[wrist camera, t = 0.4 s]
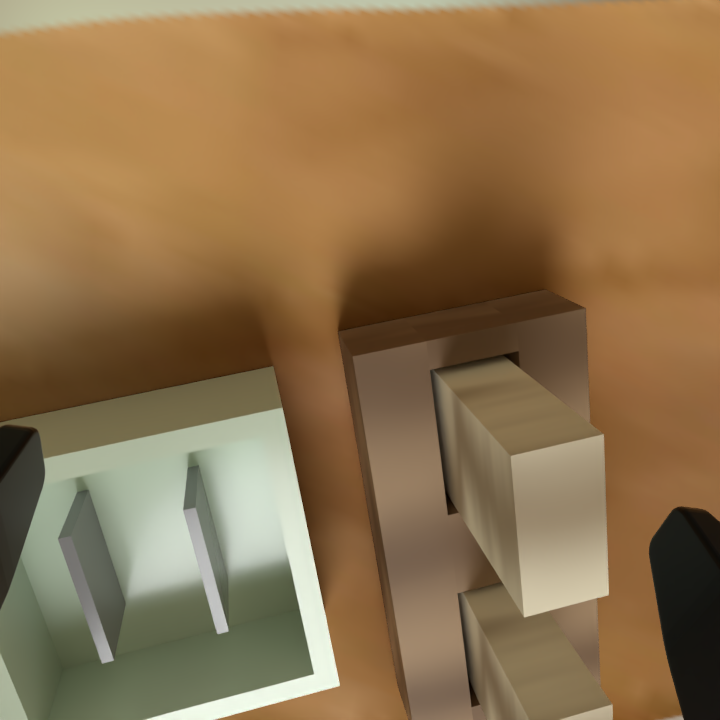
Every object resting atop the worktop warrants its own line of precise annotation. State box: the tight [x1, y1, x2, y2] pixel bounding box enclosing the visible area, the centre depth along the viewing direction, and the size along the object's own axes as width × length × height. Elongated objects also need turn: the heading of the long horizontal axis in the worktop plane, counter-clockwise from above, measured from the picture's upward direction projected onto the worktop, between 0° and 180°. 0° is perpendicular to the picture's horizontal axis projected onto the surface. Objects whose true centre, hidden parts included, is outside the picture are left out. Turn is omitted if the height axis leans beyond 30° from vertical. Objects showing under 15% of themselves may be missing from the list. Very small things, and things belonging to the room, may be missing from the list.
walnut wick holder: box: [338, 290, 600, 720], centre depth 26 cm, size 17×8×3 cm, turn 9°
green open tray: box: [0, 366, 340, 720], centre depth 24 cm, size 11×11×4 cm
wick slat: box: [457, 582, 613, 720], centre depth 25 cm, size 5×2×9 cm, turn 9°
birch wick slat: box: [430, 355, 609, 617], centre depth 22 cm, size 5×2×9 cm, turn 9°
